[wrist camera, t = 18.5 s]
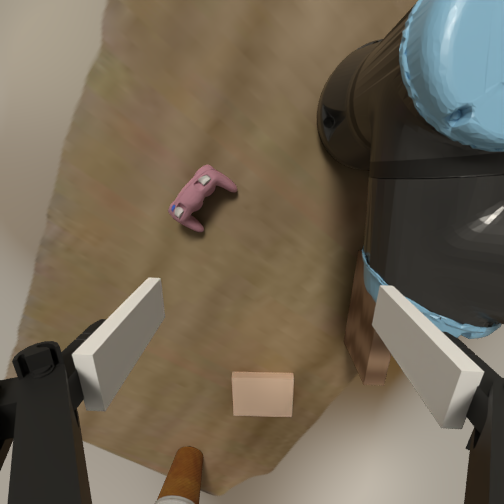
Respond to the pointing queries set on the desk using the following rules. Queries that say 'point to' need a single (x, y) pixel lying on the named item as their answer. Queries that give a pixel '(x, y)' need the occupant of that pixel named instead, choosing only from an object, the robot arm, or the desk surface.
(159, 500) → the disposable coffee cup
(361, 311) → the wooden plank
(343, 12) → the desk surface
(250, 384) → the tile
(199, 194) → the video game controller
